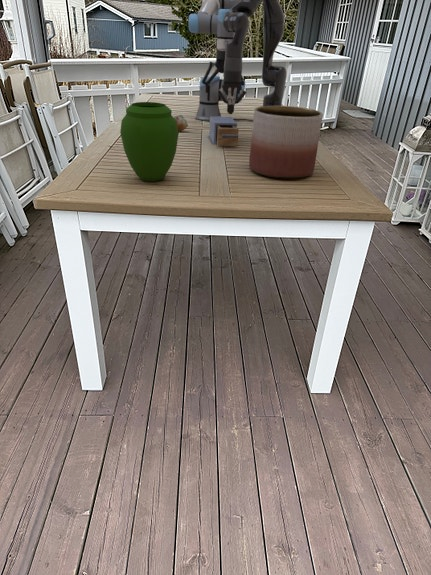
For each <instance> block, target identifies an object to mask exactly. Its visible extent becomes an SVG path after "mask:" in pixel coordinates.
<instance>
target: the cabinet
mask: <svg viewBox="0 0 431 575" xmlns="http://www.w3.org/2000/svg"><path fill="white" fill-rule="evenodd" d="M233 119H234V118H232V116H221V117H211V116H210V121H209V128H208V129H209V132H208V137H209V139H210V141H211V142H212V144H213V145H217V141H216V126H217V125H233V126H234V127H235V128H238V123H237V121H236V120H233Z"/></svg>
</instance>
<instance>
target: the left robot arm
mask: <svg viewBox="0 0 431 575" xmlns="http://www.w3.org/2000/svg"><path fill="white" fill-rule="evenodd" d="M239 1H240V0H202V1H201V6H200V8H199V10H198V12H197V13H191V14H189V16H188V30H189V32H190V33H192V34H195V35H197V34H201V35H203V34H205V35H206V34H207V35H216V49H217V50H216V52H215V54H216V56H215V62H214V61H209V63H208V67H207V69H206V72H205V73H204V76H203V77H202V78H200V80H199V86H198V87H199V100H198V101H199V103H198V104H199V105H198V107H197V111H196V114H195V119H196V120H199V121H202V122H203V121H204V122H210V116H211V117H222V114H221V110H220V107H219V105H220V103H219V102H223V100H222V99H221V97H220V96H219V94H218V92H217V90H219V89H221V88H222V85H223V80H224V75H223V77H222V78H221V76H220V75H218V74H219V73H220V74H224V62H225V57H226V56H225V51H226V42H227V41H229V40H232V39H233V38H234V35H235V33H229V32H226V31H225V30H224V28H223V18H224V16H225V14H226V13H227V12H228V11H229V10H230V9H231V8H232V7H233V6H234V5H235V4H237V3H238V2H239ZM213 68H216V69H215V70H214V72H213V73H211V72H212V69H213ZM210 73H211V76H209V75H210ZM241 86H242V89H243V90H244V91H245V88H246V80H245V79H244V75H242V76H241ZM239 95H240V92H239V93H238V94H237V95H236V99H237V98H238V96H239ZM223 96H224V97H225V99H226V100H227V95H226V94H225V92H224V90H223ZM231 97H232V96H231ZM231 99H232V98H231ZM236 99H235V100H236ZM242 101H243V98H242V99H241V100H240V102H242ZM240 102H239V103H240ZM232 119H233V120H234V121H248V122H253V120H254V119H249V118H232Z"/></svg>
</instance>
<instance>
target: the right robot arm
mask: <svg viewBox="0 0 431 575" xmlns="http://www.w3.org/2000/svg"><path fill="white" fill-rule="evenodd" d="M261 4H262V10H263V11H262V16H263V17H262V34H263V52H262V53H263V55H262V67H261V68H262V69H261V81H262V84H263V86H264V87H267V88H273V92H271V93H268V94H265V95H264V96H263V100H262V106H283V99H284V95H285V88H286V82H287V75H288V72H287V68H286V67H285V66H284V65H276V64H275V65H274V64H273V62H274V55H275V52H276V50H277V48H278V46H279V44H280V42H281V41H282V39H283V36H284V34H285V14H284V11H283V8H282V6H281V3H280V1H279V0H240V1H239V2H238V3H237V4H235V5H234V6H233V7H232V8H231V9H230V10H229V11H228V12H227V13H226V14H225V16H224V18H223V28H224V30H225V31H226V32H229V33H235V35H234V38H233V39H232V40H229V41H227V42H226V51H225V56H226V57H225V62H224V73H223V76H224V80H223V85H222V88H221V89H219V90H217V92H218V94H219V96H220V97H221V99H222V100H223V101H222V102H223V103H224V104H226V112H227V113H228V115H233V113H235V106H236V105H238V104H239V103H240V100H241V99H242V100H243V98H244V97H245V96H246V94H247V91H245V89H244V90H243V89H242V86H241V76H243V52H244V45H245V41H246V38H247V34H248V30H249V27H250V20H249V18H251V17H252V16H253V15H254V14H255V12H256V11H257V10H258V8H259V7H260V5H261ZM223 90H224V92H225V94H226V95H227V100H226V99H225V97H224V96H223ZM239 92H240V95H239V96H238V98H237V99H236V95H237V94H238V93H239ZM231 96H232V97H231ZM231 98H232V99H231ZM235 99H236V100H235Z"/></svg>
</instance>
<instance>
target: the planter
mask: <svg viewBox="0 0 431 575" xmlns="http://www.w3.org/2000/svg"><path fill="white" fill-rule="evenodd" d="M323 117H324V114H323V113H322V111H319V110H317V109H312V108H307V107H301V106H291V105H282V106H263V105H262V106H257V107H255V108H254V112H253V119H252V120H253V121H252V132H251V142H250V152H249V162H248V166H249V168H250V169H251V171H254V172H255V173H257V174H258V175H262V176H264V177H268V178H273V179H279V180H280V179H281V180H296V179H302V178H306V177H308V176H310V175H311V174H313V173H314V170H315V167H316V161H317V154H318V149H319V148H318V147H319V141H320V135H321V129H322V123H323Z"/></svg>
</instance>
